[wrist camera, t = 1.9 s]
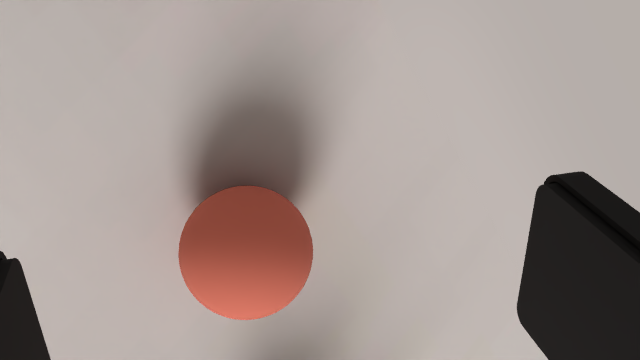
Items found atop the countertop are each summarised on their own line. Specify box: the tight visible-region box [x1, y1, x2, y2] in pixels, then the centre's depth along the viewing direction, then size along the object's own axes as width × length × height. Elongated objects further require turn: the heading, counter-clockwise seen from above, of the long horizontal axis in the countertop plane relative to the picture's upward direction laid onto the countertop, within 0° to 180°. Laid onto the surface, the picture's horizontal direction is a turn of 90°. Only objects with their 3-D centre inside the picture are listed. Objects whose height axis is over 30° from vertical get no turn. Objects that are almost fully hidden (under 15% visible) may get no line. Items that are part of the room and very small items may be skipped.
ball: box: [179, 186, 313, 320], centre depth 27 cm, size 6×6×6 cm
